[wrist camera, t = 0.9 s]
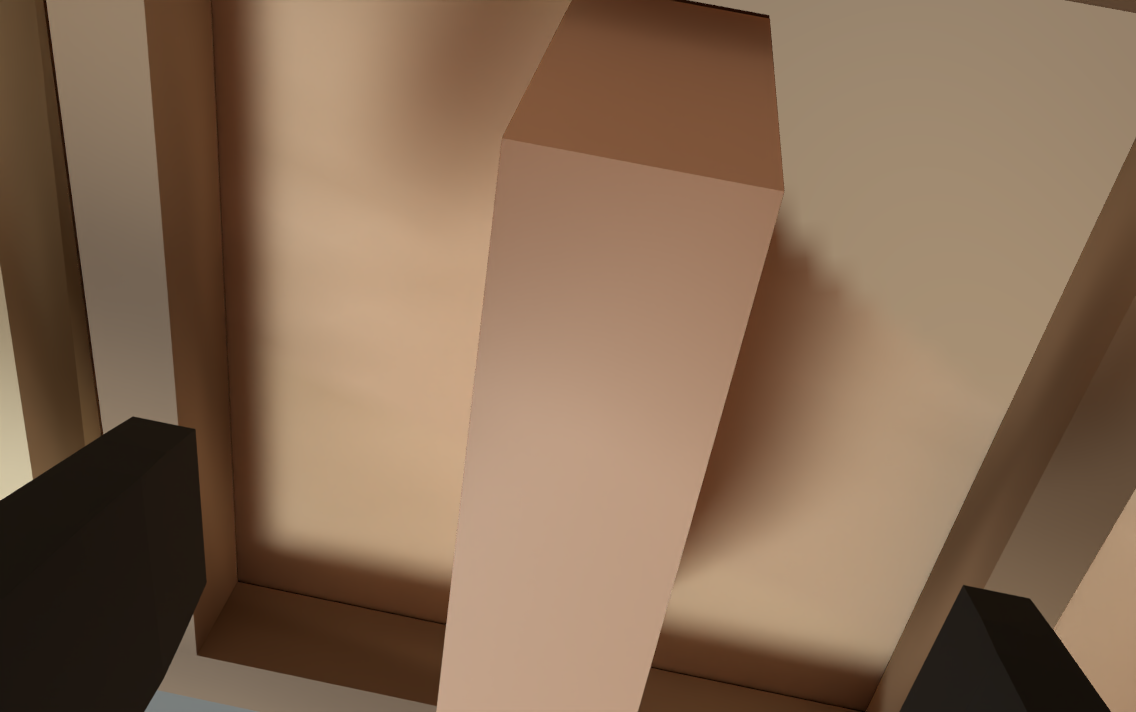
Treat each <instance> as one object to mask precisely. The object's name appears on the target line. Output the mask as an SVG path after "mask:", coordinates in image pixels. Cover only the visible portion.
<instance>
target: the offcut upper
mask: <svg viewBox="0 0 1136 712" xmlns="http://www.w3.org/2000/svg"><path fill="white" fill-rule="evenodd" d="M83 447H85V441H84V432H83V424H82V415H81V406H80V397H79V388H78V379H77V370H76V361H75V352H74V343H73V335H72V326H71V317H70V308H69V299H68V290H67V281H66V272H65V263H64V254H63V245H62V237H61V228H60V219H59V210H58V201H57V192H56V183H55V174H54V165H53V156H52V147H51V139H50V130H49V121H48V112H47V103H46V94H45V85H44V76H43V67H42V58H41V50H40V41H39V32H38V23H37V14H36V5H35V0H0V500H2V499H3V498H5V497H6V496H8V495H10V494H11V493H13V492H14V491H16V490H17V489H19V488H21V487H22V486H24V485H25V484H27V483H28V482H30V481H32V480H33V479H35V478H36V477H38V476H39V475H41V474H43V473H44V472H46V471H47V470H49V469H50V468H52V467H53V466H55V465H57V464H58V463H60V462H61V461H63V460H64V459H66V458H67V457H69V456H71V455H72V454H74V453H75V452H77V451H78V450H80V449H82V448H83Z"/></svg>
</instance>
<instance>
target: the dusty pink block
mask: <svg viewBox="0 0 1136 712" xmlns="http://www.w3.org/2000/svg"><path fill="white" fill-rule="evenodd" d="M783 195H784V181H783V169H782V158H781V147H780V135H779V123H778V111H777V99H776V88H775V75H774V63H773V52H772V40H771V28H770V18H769V15H766V14H760V13H755V12H750V11H744V10H739V9H733V8H728V7H723V6H717V5H712V4H706V3H701V2H695V1H690V0H572V1H571V3H570V5H569V7H568V9H567V11H566V13H565V15H564V17H563V19H562V21H561V23H560V25H559V27H558V29H557V31H556V33H555V35H554V37H553V39H552V41H551V42H550V44H549V46H548V48H547V50H546V52H545V54H544V56H543V58H542V60H541V62H540V64H539V66H538V68H537V70H536V72H535V74H534V76H533V78H532V80H531V82H530V84H529V86H528V88H527V90H526V92H525V94H524V96H523V98H522V100H521V102H520V103H519V105H518V107H517V109H516V111H515V113H514V115H513V117H512V119H511V121H510V123H509V125H508V127H507V129H506V131H505V133H504V135H503V137H502V142H501V151H500V159H499V168H498V177H497V186H496V194H495V203H494V212H493V221H492V229H491V238H490V247H489V256H488V264H487V273H486V282H485V290H484V299H483V308H482V317H481V325H480V334H479V343H478V352H477V360H476V369H475V378H474V387H473V395H472V404H471V413H470V422H469V430H468V439H467V448H466V457H465V465H464V474H463V483H462V492H461V500H460V509H459V518H458V527H457V535H456V544H455V553H454V562H453V570H452V579H451V588H450V597H449V605H448V614H447V623H446V631H445V640H444V649H443V658H442V666H441V675H440V684H439V693H438V701H437V710H436V712H638V710H639V706H640V702H641V699H642V695H643V692H644V688H645V685H646V681H647V678H648V674H649V671H650V667H651V663H652V660H653V656H654V653H655V649H656V646H657V642H658V639H659V635H660V631H661V628H662V624H663V621H664V617H665V614H666V610H667V607H668V603H669V600H670V596H671V592H672V589H673V585H674V582H675V578H676V575H677V571H678V568H679V564H680V560H681V557H682V553H683V550H684V546H685V543H686V539H687V536H688V532H689V529H690V525H691V521H692V518H693V514H694V511H695V507H696V504H697V500H698V497H699V493H700V489H701V486H702V482H703V479H704V475H705V472H706V468H707V465H708V461H709V458H710V454H711V450H712V447H713V443H714V440H715V436H716V433H717V429H718V426H719V422H720V418H721V415H722V411H723V408H724V404H725V401H726V397H727V394H728V390H729V387H730V383H731V379H732V376H733V372H734V369H735V365H736V362H737V358H738V355H739V351H740V347H741V344H742V340H743V337H744V333H745V330H746V326H747V323H748V319H749V316H750V312H751V308H752V305H753V301H754V298H755V294H756V291H757V287H758V284H759V280H760V276H761V273H762V269H763V266H764V262H765V259H766V255H767V252H768V248H769V245H770V241H771V237H772V234H773V230H774V227H775V223H776V220H777V216H778V213H779V209H780V205H781V202H782V198H783Z"/></svg>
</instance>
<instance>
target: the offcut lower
mask: <svg viewBox="0 0 1136 712" xmlns="http://www.w3.org/2000/svg"><path fill="white" fill-rule="evenodd" d="M35 5H36V14H37V23H38V32H39V41H40V50H41V58H42V67H43V76H44V85H45V94H46V103H47V112H48V121H49V130H50V139H51V147H52V156H53V165H54V174H55V183H56V192H57V201H58V210H59V219H60V228H61V237H62V245H63V254H64V263H65V272H66V281H67V290H68V299H69V308H70V317H71V326H72V335H73V343H74V352H75V361H76V370H77V379H78V388H79V397H80V406H81V415H82V424H83V432H84V441H85V446H86V445H88V444H89V443H91V442H92V441H94V440H96V439H97V438H99V437H100V436H101V429H100V422H99V415H98V407H97V400H96V392H95V385H94V377H93V370H92V362H91V355H90V347H89V340H88V332H87V325H86V317H85V310H84V302H83V295H82V287H81V280H80V273H79V265H78V258H77V250H76V243H75V235H74V228H73V220H72V213H71V205H70V198H69V190H68V183H67V175H66V168H65V160H64V153H63V146H62V138H61V131H60V123H59V116H58V108H57V101H56V93H55V86H54V78H53V71H52V63H51V56H50V48H49V41H48V33H47V26H46V18H45V11H44V4H43V0H35Z"/></svg>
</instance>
